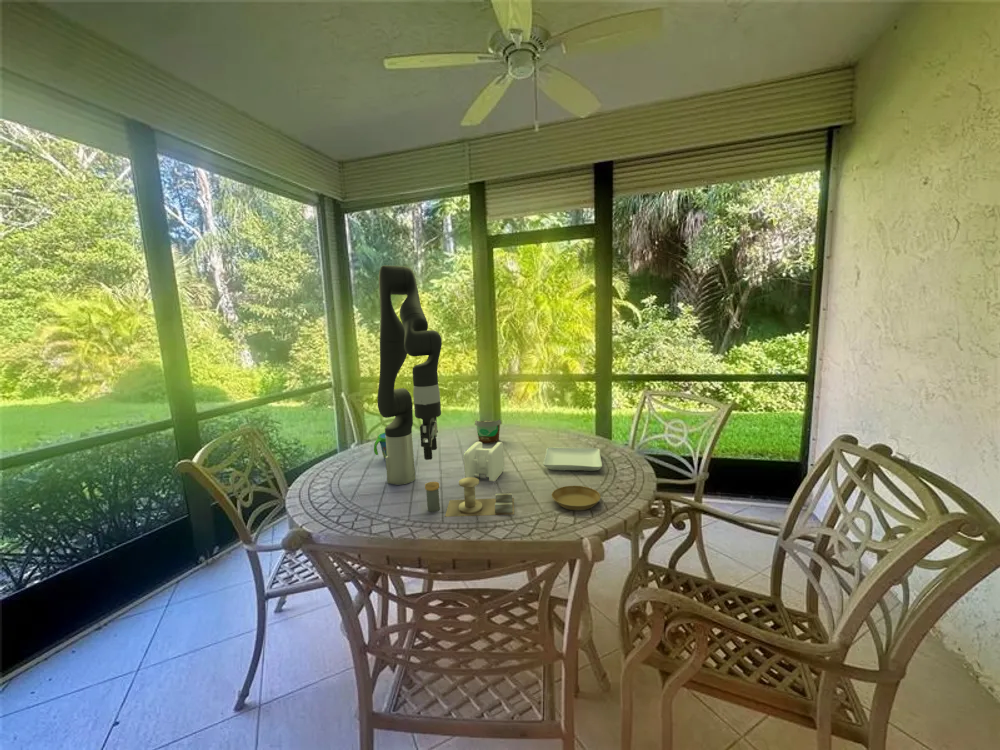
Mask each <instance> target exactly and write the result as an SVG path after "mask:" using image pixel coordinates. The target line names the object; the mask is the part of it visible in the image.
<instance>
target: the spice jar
mask: <svg viewBox="0 0 1000 750" xmlns="http://www.w3.org/2000/svg"><path fill="white" fill-rule="evenodd" d="M424 489H425V492H426V505H427V512H429V513H436V512H438V511H440V510H441V506H440V491H439V489H440V482H437V481H429V482H426V483H425V484H424Z"/></svg>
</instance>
